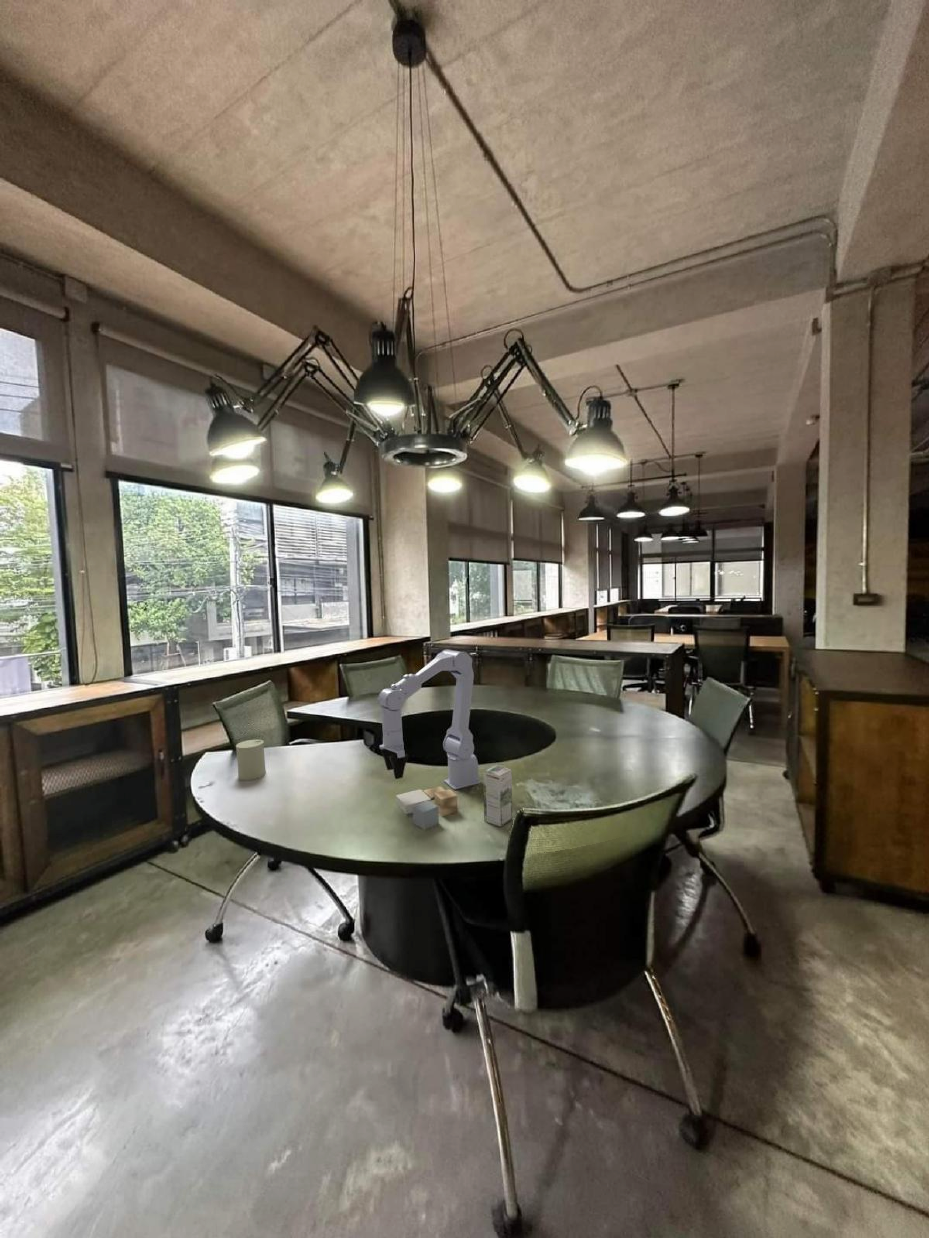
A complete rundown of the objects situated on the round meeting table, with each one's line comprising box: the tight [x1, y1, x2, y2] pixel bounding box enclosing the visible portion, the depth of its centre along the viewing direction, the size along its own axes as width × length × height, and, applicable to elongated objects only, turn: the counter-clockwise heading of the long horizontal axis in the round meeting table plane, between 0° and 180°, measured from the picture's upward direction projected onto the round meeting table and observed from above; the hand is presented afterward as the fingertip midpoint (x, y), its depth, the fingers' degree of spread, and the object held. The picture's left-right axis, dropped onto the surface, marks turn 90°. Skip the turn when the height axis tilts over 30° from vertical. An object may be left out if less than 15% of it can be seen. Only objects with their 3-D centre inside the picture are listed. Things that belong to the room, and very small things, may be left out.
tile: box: [422, 785, 446, 801], centre depth 155 cm, size 7×7×1 cm
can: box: [235, 738, 267, 781], centre depth 175 cm, size 9×9×12 cm
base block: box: [395, 788, 432, 815], centre depth 147 cm, size 8×8×3 cm
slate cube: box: [412, 801, 440, 831], centre depth 136 cm, size 5×5×5 cm
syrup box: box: [482, 765, 513, 828], centre depth 136 cm, size 6×6×14 cm
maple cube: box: [434, 788, 459, 817], centre depth 143 cm, size 5×5×5 cm
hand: (394, 773), depth 147 cm, fingers open, 7 cm apart
